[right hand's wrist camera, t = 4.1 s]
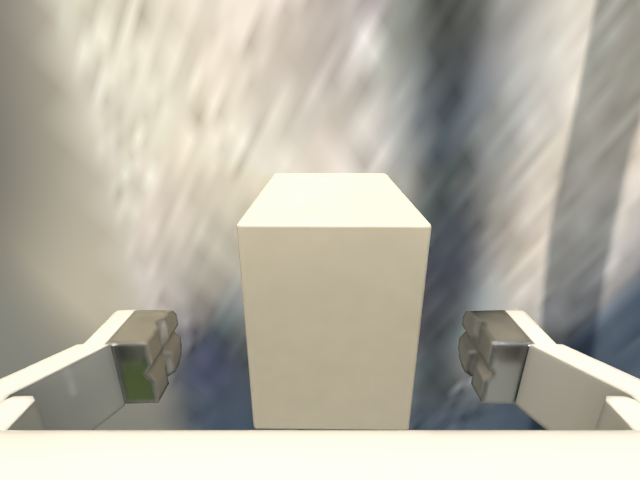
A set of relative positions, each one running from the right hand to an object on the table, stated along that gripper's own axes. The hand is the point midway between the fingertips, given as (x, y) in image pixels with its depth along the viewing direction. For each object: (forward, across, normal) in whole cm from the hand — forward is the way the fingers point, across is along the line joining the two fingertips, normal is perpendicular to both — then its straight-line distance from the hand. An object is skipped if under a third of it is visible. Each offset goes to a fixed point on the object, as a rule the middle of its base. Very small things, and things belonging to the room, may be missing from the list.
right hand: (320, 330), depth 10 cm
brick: (+7, 0, 0) cm, 7 cm away
